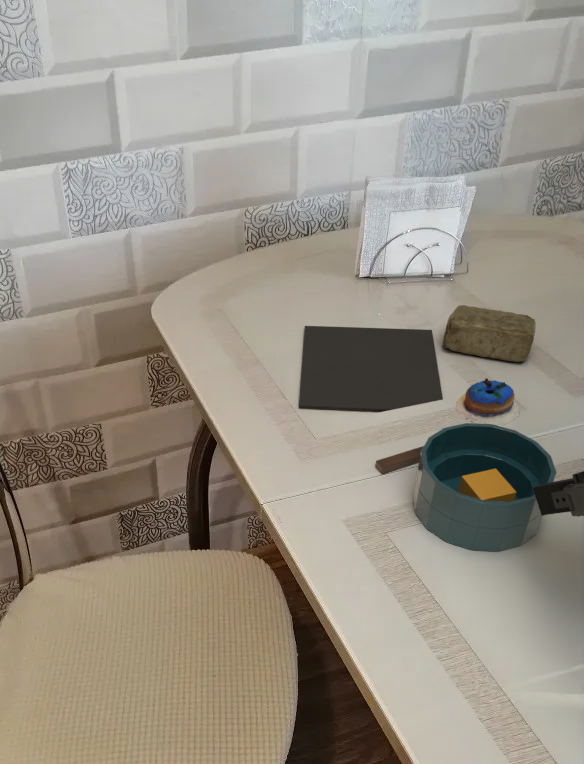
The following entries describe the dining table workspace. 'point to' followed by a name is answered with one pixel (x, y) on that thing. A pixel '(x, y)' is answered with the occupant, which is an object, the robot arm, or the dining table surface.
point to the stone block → (489, 333)
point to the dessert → (488, 403)
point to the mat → (368, 369)
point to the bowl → (471, 515)
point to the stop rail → (398, 461)
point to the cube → (487, 486)
